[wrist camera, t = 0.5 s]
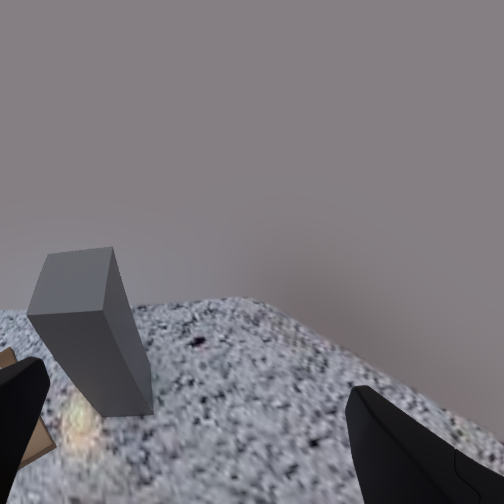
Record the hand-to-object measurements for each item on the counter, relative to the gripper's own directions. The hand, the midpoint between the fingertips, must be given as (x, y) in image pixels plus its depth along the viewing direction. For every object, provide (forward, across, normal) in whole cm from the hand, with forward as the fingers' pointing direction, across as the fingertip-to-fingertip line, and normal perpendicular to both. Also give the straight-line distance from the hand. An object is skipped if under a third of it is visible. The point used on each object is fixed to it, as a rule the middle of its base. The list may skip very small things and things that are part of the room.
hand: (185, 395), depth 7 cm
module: (+12, +8, +12) cm, 19 cm away
